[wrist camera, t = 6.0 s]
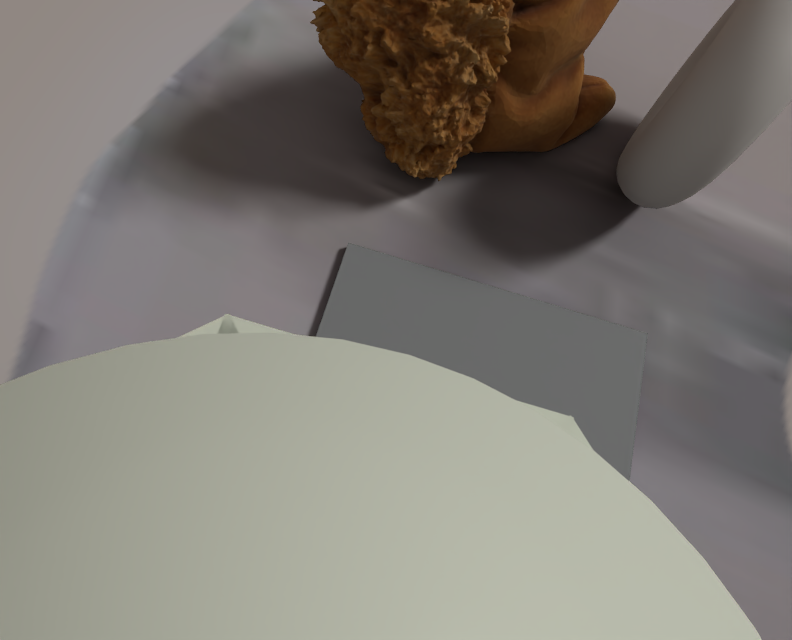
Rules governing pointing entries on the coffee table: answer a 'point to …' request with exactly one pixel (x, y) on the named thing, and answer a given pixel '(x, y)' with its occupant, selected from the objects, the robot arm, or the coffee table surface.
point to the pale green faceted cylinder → (322, 505)
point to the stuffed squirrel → (468, 74)
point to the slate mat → (496, 342)
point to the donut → (712, 105)
